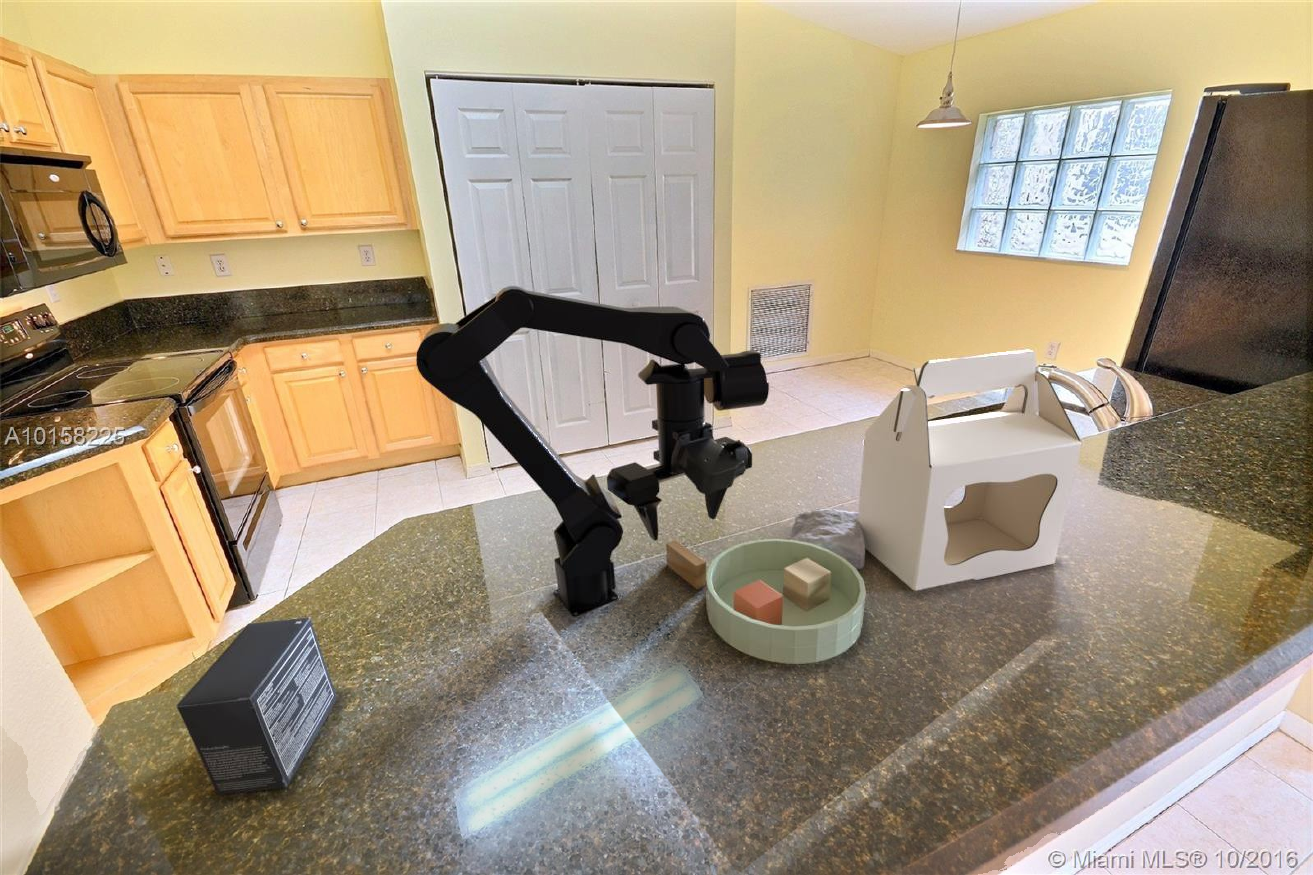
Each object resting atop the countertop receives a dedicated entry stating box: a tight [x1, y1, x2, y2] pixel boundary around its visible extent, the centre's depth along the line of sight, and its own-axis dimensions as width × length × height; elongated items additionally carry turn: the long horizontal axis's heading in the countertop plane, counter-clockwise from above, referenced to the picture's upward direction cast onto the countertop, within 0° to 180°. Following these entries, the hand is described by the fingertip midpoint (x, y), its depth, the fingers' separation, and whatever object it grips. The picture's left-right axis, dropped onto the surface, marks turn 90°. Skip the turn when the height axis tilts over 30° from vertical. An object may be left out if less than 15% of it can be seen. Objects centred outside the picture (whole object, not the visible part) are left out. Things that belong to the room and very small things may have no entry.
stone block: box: [789, 508, 866, 570], centre depth 82 cm, size 12×5×10 cm
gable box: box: [857, 349, 1083, 592], centre depth 76 cm, size 22×13×28 cm, turn 104°
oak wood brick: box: [665, 539, 707, 590], centre depth 77 cm, size 2×7×4 cm, turn 33°
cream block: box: [783, 558, 831, 611], centre depth 71 cm, size 4×4×4 cm
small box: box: [175, 616, 339, 796], centre depth 53 cm, size 11×6×10 cm, turn 5°
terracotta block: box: [734, 580, 783, 625], centre depth 67 cm, size 4×4×4 cm
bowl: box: [705, 538, 867, 665], centre depth 69 cm, size 18×18×5 cm
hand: (683, 528), depth 75 cm, fingers open, 9 cm apart
